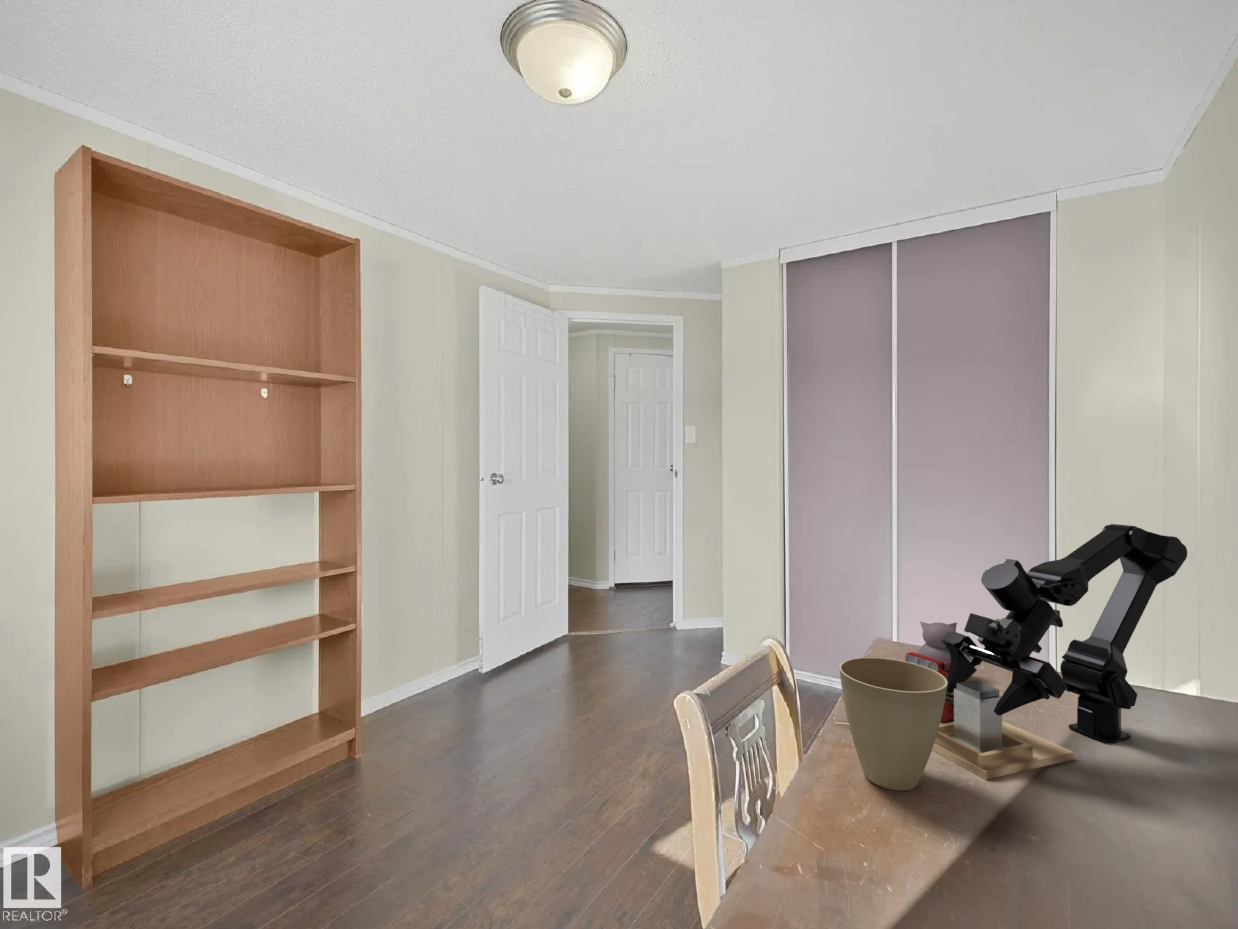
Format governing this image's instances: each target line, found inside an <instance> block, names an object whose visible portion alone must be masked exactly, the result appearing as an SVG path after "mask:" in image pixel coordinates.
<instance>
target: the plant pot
mask: <svg viewBox="0 0 1238 929" xmlns="http://www.w3.org/2000/svg"><path fill="white" fill-rule="evenodd" d="M838 670H839V676H840V677H839V678H840V684H841V691H842V696H843V703H844V708H845V713H846V719H847V723H848V727H849V731H850V734H851V738H852V742H853V745H854V747H855V751H856V754H857V758H858V760H859V764H860V766H861V769H862V772H863V774H864V776H865V778H866V779H868V780H869V781H870V782H871V783H873V784H875V785H877V786H879V787H882V788H885V789H888V790H894V791H903V792H904V791H910V790H913V789H914V788H916V787H917V786H918V783H919V782H920V779H921V777H922V775H923V773H924V771H925V768H926V766H927V764H928V761H929V758H930V756H931V754H932V751H933V750H932V748H933V745H934V742H935V739H936V736H937V733H938V729H939V725H940V724H941V723H942V722H941V717H942V713H943V708H944V703H945V697H946V692H947V685H948V681H947V679H946V678H945V677H944V676H943V675H941V674H940V673H938V672H936V671H934V670H932V669H930V668H927V667H924V666H921V665H918V664H914V663H910V662H906V661H905V660H901V659H895V658H894V659H893V658H885V657H877V656H876V657H875V656H874V657H872V656H871V657H869V656H867V657H865V656H864V657H855V658H850V659H846V660H845V661H844V660H843V661H842V662H841V663H840V664H839V666H838Z"/></svg>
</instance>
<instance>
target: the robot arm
mask: <svg viewBox="0 0 1238 929" xmlns="http://www.w3.org/2000/svg"><path fill="white" fill-rule="evenodd" d="M1187 557H1188V549H1187V547H1186V545H1185V544H1183V543H1182V541H1181V540H1180V539H1179V538H1178V537H1177V536H1172V535H1170V536H1169V535H1162V534H1158V533H1155V532H1151V531H1147V530H1145V529H1143V528H1142V527H1141V528H1140V527H1138V526H1136V525H1128V524H1127V525H1126V524H1116V523H1111V524H1107V525H1105V526H1104V527H1102V530H1101V532H1099V533H1098V534H1095V536H1093V537H1092V538H1090V539H1089V540H1088V541H1086V542H1085V543H1083V544H1082V545H1080V546H1079V547H1078V548H1076V549H1075V550H1073V551H1072V552H1071V553H1069V554H1067V555H1066V556H1065V557H1062V558H1061V559H1060V558H1059V559H1055V560H1049V561H1045V562H1042V563H1039V564H1038V565H1035V566H1033V567H1031V568H1030V569H1029V570H1028V571H1027V572H1026V570H1025V568H1024V566H1023V565H1022V563H1021V562H1020V561H1019V560H1017V559H1010V558H1006V559H1005V560H1004V562H1003V563H998V564H995V565H993V566H992V567H989V568H987V569H986V570H984V572H983V573H982V575H981V577H980V578H981V579H980V580H981V584H982V585H983V587H984V588H985V589H986V590H987V591H988V593H989V594H990V595H991V596H992V598H993V599H994V600H995V601H996V602H997V604H998V605H999V606H1000V607H1001V608H1002V609H1003V610H1006V611H1008V614H1007V615H1006V616H1005V617H1002V618H1001V619H1000V618H996V619H993V618H989V617H986V616H983V615H978V614H975V613H972V612H971V613H969V615H968V619H967V621H966V624H965V627H964V629H963V630H964V631H963V632H965V633H967V634H968V633H970V634H973V635H974V636H976V637H978V638H977V639H976V640H977V641H978V642H979V644H980V645H983V646H984V647H983V648H982V647H979V646H978V645H977V644H976V643H975V641H974V640H973V639H972V638H971V637H970V636H969V635H965V634H962V633H959V632H957V631H956V632H957V633H956V632H947V634H946V635H945V637H944V638H943V639H942V643H943V644H944V645H945V648H946V649H947V651H948V652H949V653H950V657H951V663H950V670H949V674H948V679H947V681H948V685H947V692H948V693H949V694H951V693H952V692H954V688H957V683H960V682H965V681H966V682H967V681H968V680H969V678H971V677H972V675H974V674H975V673H976V672H977V671H978V670H977V668H976V666H980V665H981V664H982V662H984V663H987V664H990V665H993V666H996V667H998V668H1001V669H1005V670H1007V671H1009V672H1012V675H1011V681H1010V683H1009V685H1008V686H1007V688H1006V689H1005V691H1004V692H1003V694H1002V696H1001V698H1000V700H999V701H998V703H997V705H996V707H995V709H994V712H995V713H996V715H998V716H1000V715H1002V716H1003V715H1004V714H1006V713H1009V712H1011V711H1013V710H1016V709H1019V708H1020V707H1023V706H1026V705H1028V704H1031V703H1034V702H1037V701H1040V700H1042V699H1045V700H1049V699H1050V698H1051V697H1053V698H1055V699H1057V700H1059V699H1061V697H1062V696H1063V695H1064V693H1065V691H1066V692H1068V693H1072V694H1076V695H1078V696H1077V707H1076V722H1075V723H1071V724H1068V728H1069V729H1071V730H1073V731H1075V732H1079V733H1081V734H1082V735H1085V736H1087V737H1090V738H1093V739H1095V740H1098V741H1101V742H1103V743H1104V744H1105V743H1106V744H1110V743H1115V742H1121V741H1123V740H1129V739H1131V738H1132V734H1130V733H1128V732H1124V731H1122V709H1123V710H1124V709H1125V710H1131V709H1132V707H1135V706H1136V702H1137V698H1138V693H1137V692H1136V690H1135V689H1134V688H1133V686H1131V684H1130V683H1129V682H1128V681H1127V679H1126V677H1127V675H1128V668H1127V664H1126V660H1125V657H1124V652H1125V650H1126V649H1127V645H1129V642H1130V640H1131V637H1132V636H1133V634H1134V632H1135V630H1136V628H1137V625H1138V624H1139V622H1140V620H1141V619H1142V615H1143V614H1144V611H1145V610H1146V607H1147V605H1148V603H1149V602H1150V600H1151V597H1152V596H1153V593H1154V591H1155V590H1156V587H1157V586H1158V585H1159V584H1161V583H1162V582H1163V583H1164V581H1167V580H1168V579H1170V578H1172V577H1174V576H1175V575H1176V574H1177V573H1178V571H1179V570H1180V569H1181V567H1182V566H1183V564H1184V562H1185V561H1186V560H1187ZM1118 560H1119V561H1120V563H1121V567H1122V573H1121V575H1120V577H1119V579H1118V581H1117V583H1116V585H1115V587H1114V588H1113V591H1112V593H1111V595H1110V597H1109V599H1108V600H1107V603H1106V604H1105V607H1104V608H1103V610H1102V613H1101V614H1100V616H1099V619H1098V620H1097V622H1096V624H1095V626H1094V628H1093V630H1092V632H1091V634H1090V636H1089V637H1088V638H1086V639H1085V640H1078V639H1072V640H1071V641H1070V642H1069V644H1068V647H1067V650H1066V651H1065V654H1063V655H1062V656H1061V658H1062V659H1063V660H1062V661H1061V663H1060V666H1059V669H1060V674H1061V675H1060V674H1059V672H1058V671H1057V669H1056V668H1054V666H1053V665H1052V663H1050V662H1048V661H1046V660H1043V659H1040V658H1036V657H1033V656H1031V655H1032V653H1037V654H1040V653H1041V651H1042V649H1043V648H1042V647H1041V645H1040V644H1039V643H1040V641H1042V639H1043V637H1044V635H1046V633H1047V631H1048V630H1049V628H1050V627H1051V626H1054V627H1057V628H1063V627H1064V623H1063V619H1062V617H1061V611H1060V610H1059V609H1054V608H1053V606H1052V605H1051V604H1050V603H1053V604H1056V605H1061V606H1067V607H1072V606H1075V605H1076V604H1077V603H1078V602H1079V601H1080V600H1081V599H1082V598H1083V597H1084V596H1085V595H1086V594H1087V593H1088V591H1089V582H1090V581H1091V580H1092V579H1093V578H1095V577H1096V576H1097V575H1099V574H1100V573H1101V572H1102V571H1104V570H1106V569H1107V568H1108V567H1109V566H1111V565H1112V564H1114V563H1115V562H1116V561H1118Z"/></svg>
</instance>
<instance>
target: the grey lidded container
mask: <svg viewBox="0 0 1238 929" xmlns="http://www.w3.org/2000/svg"><path fill="white" fill-rule="evenodd" d="M1001 697H1002V696H1001V695H1000V689H999V688H998V689H997V688H995V687H994V686H990V685H988V684H986V683H983V682H980V681H978V680H969V681H968V680H967V681H966V682H960V683H957V688H954V715H953V722H954V739H955V740H957V741H959V742H961V743H963V744H965V745H967V746H969V747H971V748H973V749H975V750H977V751H979V752H981V753H984V752H988V751H993V750H998V749H1002V722H1003V714H1002V715H1000V716H998V715H996V713H995V712H994V709H995V707H996V705H997V703H998V701H999V700H1000V698H1001Z"/></svg>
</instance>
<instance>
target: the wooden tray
mask: <svg viewBox="0 0 1238 929" xmlns="http://www.w3.org/2000/svg"><path fill="white" fill-rule="evenodd" d="M932 751H933V752H935V753H936V754H938V755H939V756H941V757H944V758H946V759H947V760H949V761H951V762H953V763H955V764H956V765H958V766H960V767H962V768H963V769H964V770H968V772H971V773H972V774H974V775H976V776H978V777H980V778H982V779H984V780H986V781H987V780H990V779H994V778H999V777H1003V776H1009V775H1013V774H1016V773H1021V772H1025V771H1030V770H1035V769H1038V768H1042V767H1048V766H1051V765H1055V764H1060V763H1065V762H1070V761H1073V760H1074V759H1075V757H1074V753H1075V752H1074V751H1072V750H1070V749H1067V748H1066V747H1063V746H1061V745H1058V744H1056V743H1054V742H1052V741H1049V740H1046V739H1045V738H1042V737H1040V736H1038V735H1036V734H1033V733H1031V732H1029V731H1027V730H1024V729H1022V728H1019V727H1017V726H1015V725H1013V724H1011V723H1008V722H1006V721H1002V749H998V750H993V751H988V752H984V753H981V752H979V751H977V750H975V749H973V748H971V747H969V746H967V745H965V744H963V743H961V742H959V741H957V740H955V739H954V721H950V722H944V723H940V725H939V729H938V733H937V736H936V739H935V742H934V745H933V748H932Z"/></svg>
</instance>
